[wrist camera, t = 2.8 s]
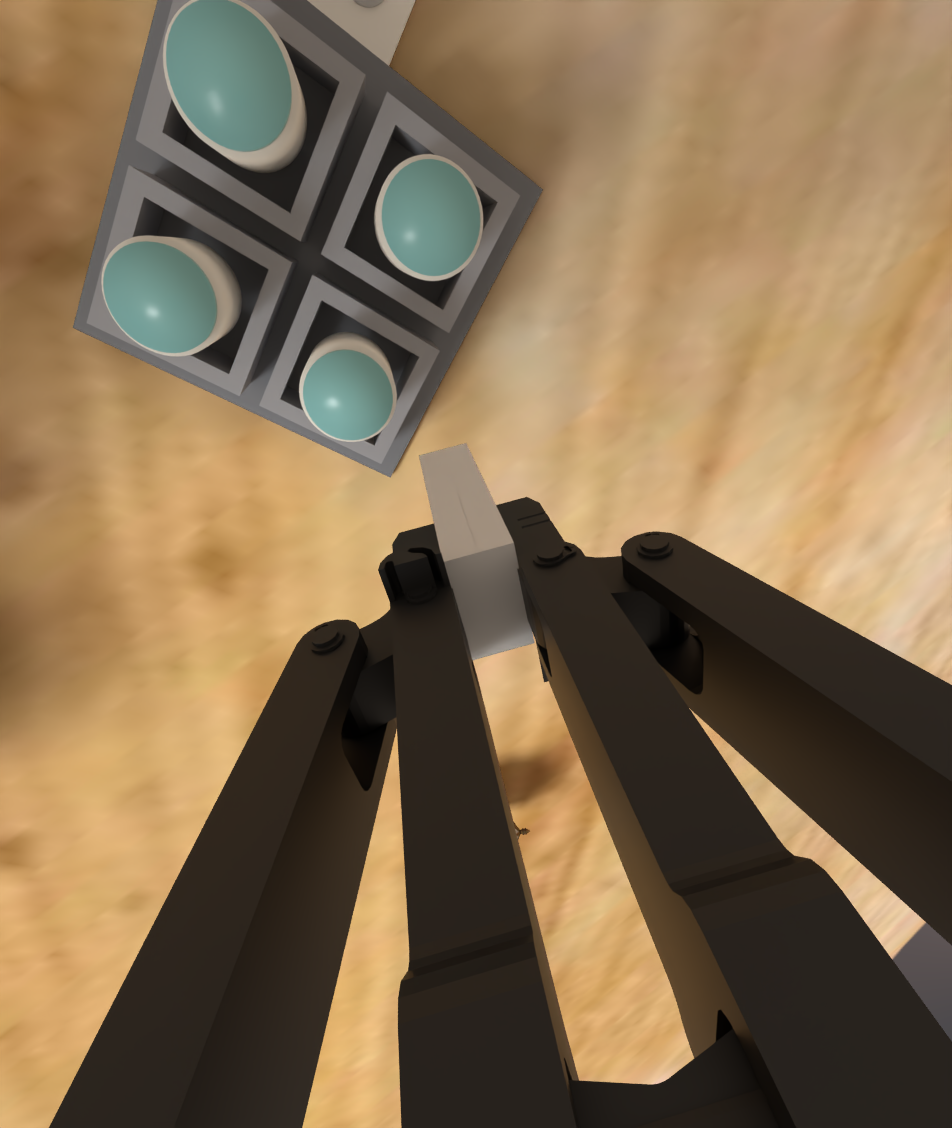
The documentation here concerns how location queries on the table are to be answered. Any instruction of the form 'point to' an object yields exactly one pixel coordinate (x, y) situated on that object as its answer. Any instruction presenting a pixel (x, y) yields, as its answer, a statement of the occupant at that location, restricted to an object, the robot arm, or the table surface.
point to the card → (370, 22)
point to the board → (306, 230)
